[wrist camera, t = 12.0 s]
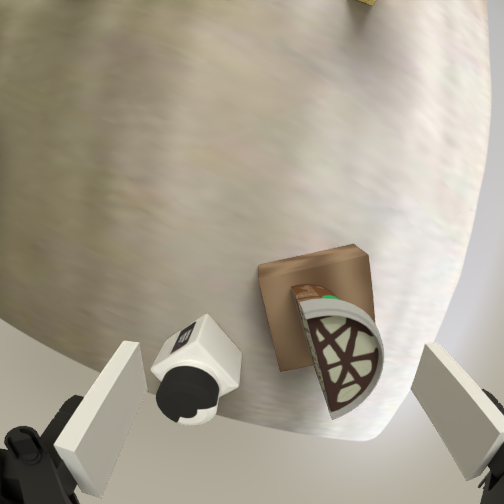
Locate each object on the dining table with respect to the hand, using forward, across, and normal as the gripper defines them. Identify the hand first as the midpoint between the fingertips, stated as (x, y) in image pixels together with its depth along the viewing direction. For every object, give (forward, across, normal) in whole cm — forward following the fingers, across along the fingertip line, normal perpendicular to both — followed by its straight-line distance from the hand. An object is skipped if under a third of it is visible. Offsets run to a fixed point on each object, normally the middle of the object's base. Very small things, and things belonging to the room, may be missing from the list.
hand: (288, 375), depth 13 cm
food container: (+20, +7, -6) cm, 22 cm away
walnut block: (+26, +6, -7) cm, 27 cm away
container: (+26, -8, -14) cm, 31 cm away
